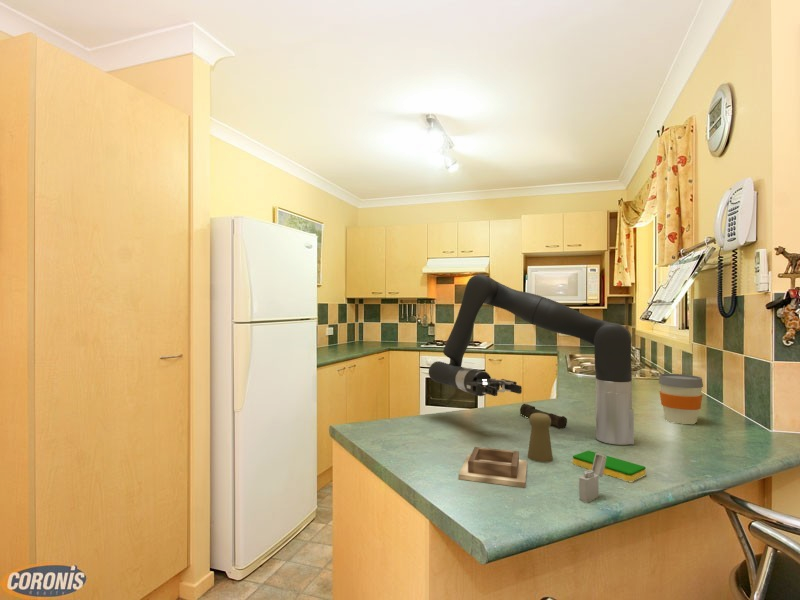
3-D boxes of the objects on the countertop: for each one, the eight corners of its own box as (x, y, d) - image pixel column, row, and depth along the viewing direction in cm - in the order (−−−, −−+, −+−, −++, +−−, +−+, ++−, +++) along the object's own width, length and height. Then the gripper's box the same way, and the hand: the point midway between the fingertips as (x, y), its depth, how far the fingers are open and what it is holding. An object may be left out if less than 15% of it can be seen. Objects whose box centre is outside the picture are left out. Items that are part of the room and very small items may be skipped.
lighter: (587, 502, 83) (586, 460, 83) (578, 499, 84) (578, 458, 84) (607, 493, 87) (607, 453, 87) (599, 490, 88) (599, 451, 88)
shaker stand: (527, 464, 103) (527, 449, 103) (525, 487, 89) (525, 470, 89) (468, 458, 107) (468, 443, 107) (458, 479, 94) (458, 462, 94)
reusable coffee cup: (712, 426, 138) (712, 379, 138) (673, 426, 138) (673, 379, 138) (687, 416, 150) (686, 373, 150) (651, 416, 150) (650, 373, 151)
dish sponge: (630, 484, 92) (630, 473, 92) (572, 465, 103) (571, 455, 103) (646, 477, 96) (646, 466, 96) (588, 459, 108) (588, 449, 108)
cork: (526, 460, 106) (526, 415, 106) (528, 452, 111) (528, 410, 112) (552, 463, 103) (552, 417, 104) (553, 455, 109) (553, 412, 109)
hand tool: (568, 428, 135) (568, 413, 135) (558, 430, 134) (558, 415, 134) (526, 415, 152) (526, 402, 153) (517, 416, 151) (517, 403, 151)
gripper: (454, 370, 129) (488, 378, 115) (491, 368, 135) (528, 375, 121) (453, 395, 129) (488, 407, 114) (491, 391, 135) (528, 402, 121)
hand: (508, 391), depth 118 cm, fingers open, 8 cm apart
